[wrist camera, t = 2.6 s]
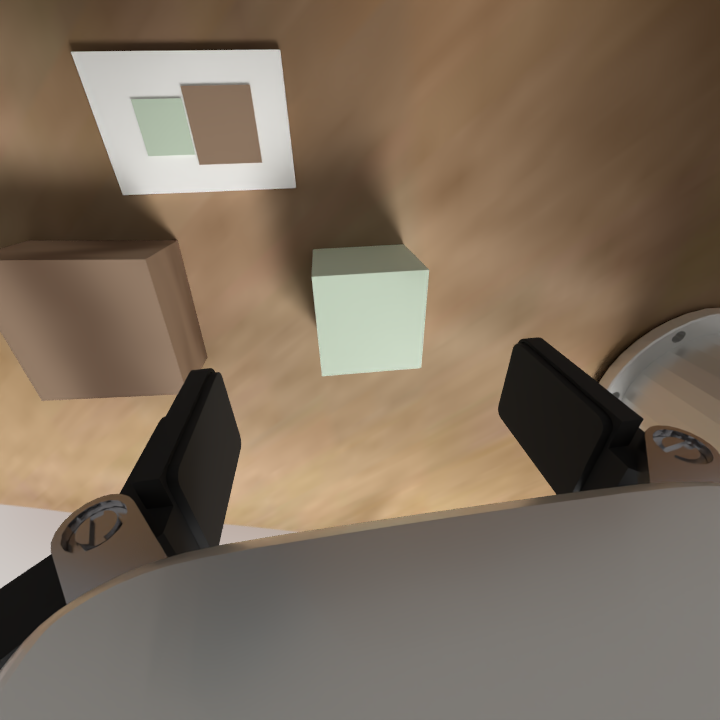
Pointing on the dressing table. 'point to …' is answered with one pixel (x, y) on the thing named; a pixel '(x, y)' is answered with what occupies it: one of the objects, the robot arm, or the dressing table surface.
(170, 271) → the walnut base
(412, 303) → the sage cube
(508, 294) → the dressing table surface
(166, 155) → the tile
